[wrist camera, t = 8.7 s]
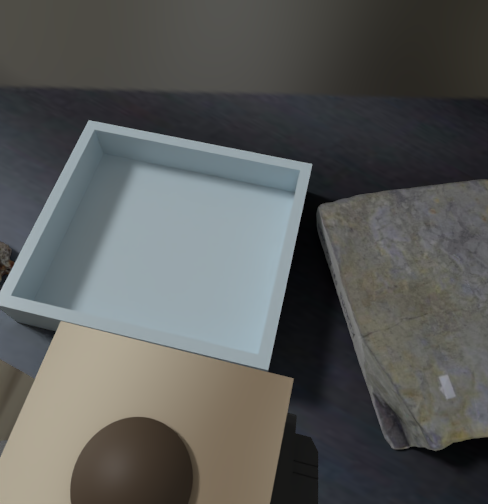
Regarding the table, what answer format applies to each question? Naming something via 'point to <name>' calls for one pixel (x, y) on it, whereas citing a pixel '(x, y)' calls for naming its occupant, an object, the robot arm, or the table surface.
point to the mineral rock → (5, 260)
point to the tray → (164, 244)
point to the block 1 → (12, 396)
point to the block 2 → (143, 426)
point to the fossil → (416, 305)
